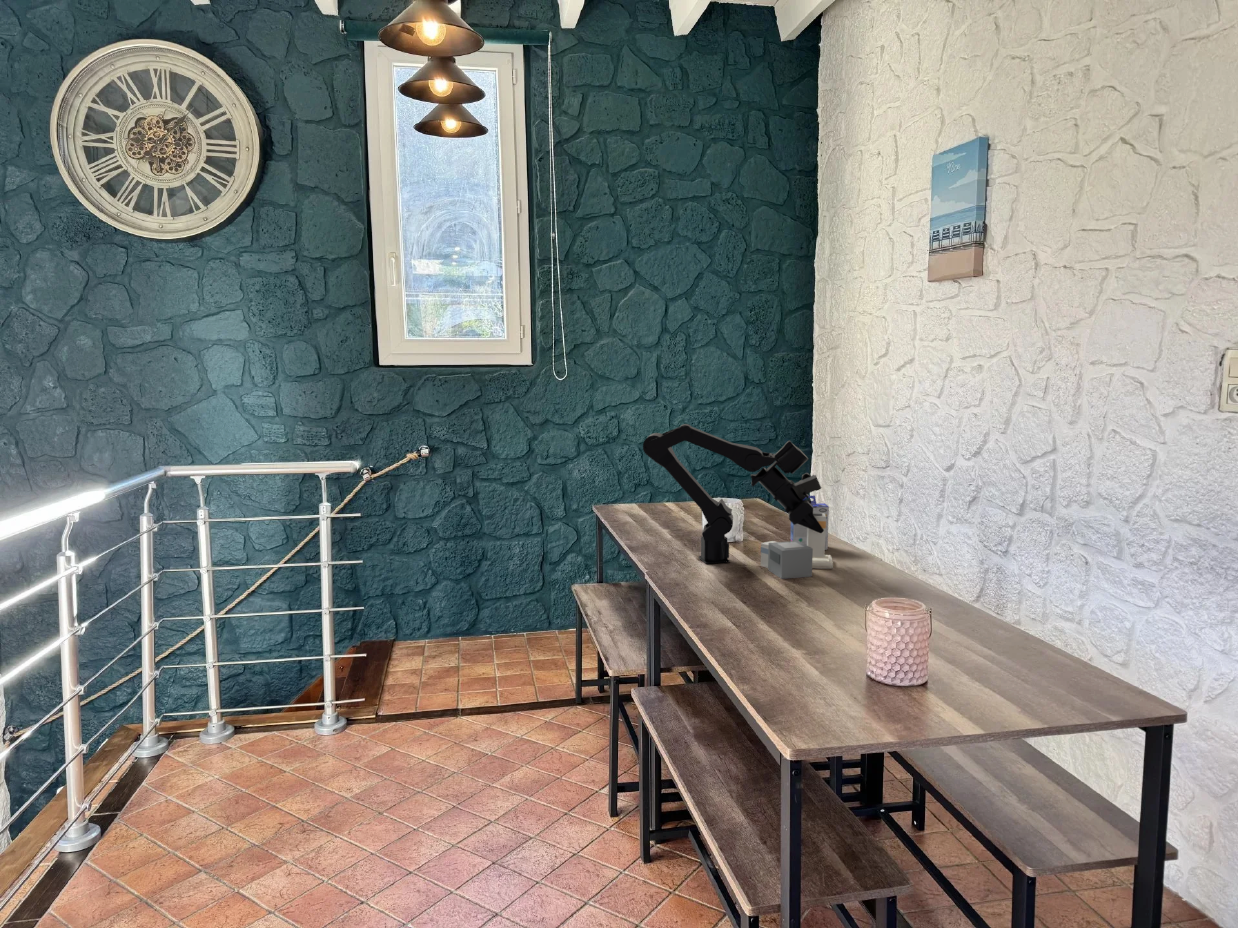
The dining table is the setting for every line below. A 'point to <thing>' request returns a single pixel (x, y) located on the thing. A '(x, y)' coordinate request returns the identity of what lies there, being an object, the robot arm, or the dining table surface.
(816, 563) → the tray
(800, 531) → the ink cartridge box
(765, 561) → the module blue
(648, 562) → the dining table surface
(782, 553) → the block
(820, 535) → the block
